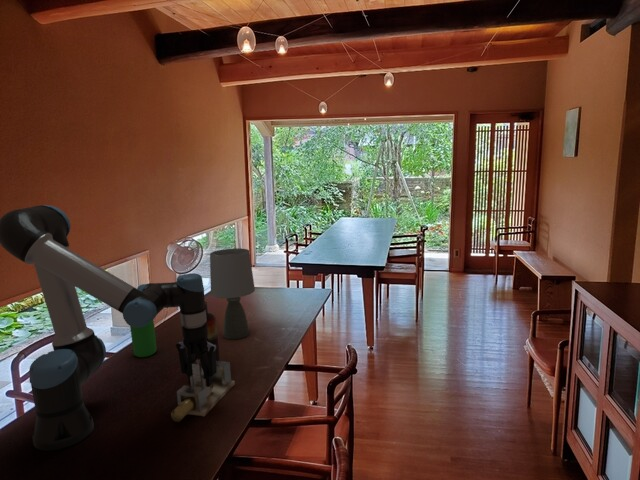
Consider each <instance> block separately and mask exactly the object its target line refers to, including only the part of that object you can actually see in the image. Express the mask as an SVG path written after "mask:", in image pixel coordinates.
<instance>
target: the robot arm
mask: <svg viewBox="0 0 640 480" xmlns="http://www.w3.org/2000/svg"><path fill="white" fill-rule="evenodd" d="M70 232H71V221H70V218H69V217H68V215H67V214H66V213H65V212H64V211H63V210H62V209H60V208H58V207H57V206H54V205H48V204H47V205H46V204H41V205H40V204H39V205H35V206H30V207H24V208H18V209H13V210H10V211H8V212H6V213H5V214H3V215H2V216H1V217H0V245H1V247H2V248H3V249H4V250H5V251H6V252H8V253H9V255H11V256H13V257H15V258H16V259H18V260H20V261H21V262H23V263H25V264H27V265H32V264H33V265H34V268H35V273H36V276H37V279H38V283H39V286H40V289H41V292H42V295H43V298H44V302H45V305H46V309H47V312H48V316H49V319H50V321H51V326H52V329H53V332H54V335H55V338H54V339H53V340H52V343H51V345H52V349H53V350H51V351H48V352H47V353H43V354H41V355H40V356H38V357H36V358H35V359H34V360H33V361H32V363H31V365H30V366H29V368H28V369H29V370H28V371H29V383H30V386H31V391H32V398H33V403H34V404H33V405H34V409H35V415H36V418H35V425H34V430H33V432H32V443H33V446H34V448H35V449H37V450H40V451H44V452H46V451H47V452H49V451H50V452H51V451H57V450H62V449H66V448H69V447H71V446H74V445H76V444H78V443H80V442H81V441H83V440H85V439H86V438H87V437H88V436H89V435H91V434H92V432H93V431H94V427H95V425H94V420H93V419H94V418H93V416H92V415H91V413H90V411H89V410H88V408H87V407H86V405H85V403H84V398H83V390H82V385H84V383H86V381H87V380H88V379H90V377H91V376H92V375H93V374H95V373H96V372H98V370H99V369H100V368H101V366H102V364H103V363H104V362H105V359H106V354H107V349H106V345H105V343H104V341H103V339H101V338H100V337H98V336H97V335H96V334H95V330H94V329H92V328H90V327H88V326H87V323H86V320H85V316H84V313H83V309H82V305H81V303H80V299H79V295H78V291H77V288H78V289H79V290H81V291H82V292H84V293H86V294H87V295H90V296H91V297H93V298H95V299H96V300H98V301H100V302H102V303H104V304H105V305H107V306H109V307H110V308H112V309H114V310H116V311H118V312H119V313H120V314H122V318H123V320H124V321H125V324H127V325H128V326H132V327H136V328H140V327H143V326H146V325H147V324H148V323H150V322H151V321H152V320H155V319H156V317H157V316H158V314H159V313H161V311H162V310H164V308H165V309H166V308H167V309H168V308H179V312H180V313H179V314H180V324H181V333H182V338H183V340H181V341H179V342H177V343H176V344H175V347H176V349H177V351H178V358H179V364H180V370H181V373H182V374H186V375H187V380H188V386H194V380H193V371H192V363H193V362H195V356H196V354H197V355H198V357H199V358H200V362H201V366H202V370H203V373H204V377H203V378H202V381H203V388H205V390H206V397H208V396H209V395H210V394H211V392H210V386H211V384H212V381H211V377H212V376H213V375H214V374H215V373H216V372H217V368H216V349H217V344H214V345H213V344H211V343H209V340H208V337H207V336H208V329H207V323H206V321H207V319H206V309H205V301H206V300H205V287H204V283H203V282H204V281H203V277H202V275H201V274H199V273H195V272H194V273H184V274H179V276H177V278H176V281H175V282H150V283H144V284H143V283H141V284H139V285H138V287H137V288H136V287H135V286H133V285H131V284H130V283H128V282H126V281H124V280H123V279H120V277H117V276H116V275H114V274H113V273H110V272H109V271H107V270H106V269H103V268H102V267H100V266H99V265H97V264H96V263H93V262H92V261H90V260H88V259H87V258H85V257H84V256H81V255H80V254H78V253H76V252H75V251H74V250H71V249H70V243H69V241H68V237H69V234H70ZM207 347H208V351H209V354H208V357H209V361H208V357H207V349H206V348H207ZM187 349H188V352H187ZM187 356H188V357H187Z"/></svg>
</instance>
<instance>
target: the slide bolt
mask: <svg viewBox="0 0 640 480" xmlns="http://www.w3.org/2000/svg"><path fill="white" fill-rule="evenodd" d="M192 371H193V380H194V387H203V381H202V378H203V377H204V373H203V370H202V366H201V362H200V360H196V361H195V362H193V363H192ZM212 389H213V384H211V386H210V391H211V390H212ZM195 406H196V402H195V397H191V396H188V397H187V398H186V399H185V400H184V401H183V402H182V403H181V404H180V405H178V404H177V406H176V407H175V408H174V409H173V410H172V411H171V412H170V418H171V419H172V420H173V421H174V422H178V423H179V422H181V421H182V420H183V419H184V418H185V416H187V415H189V414H188V413H189V412H190V411H191V410H192V409H193V408H194V407H195Z"/></svg>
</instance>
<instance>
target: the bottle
mask: <svg viewBox="0 0 640 480" xmlns="http://www.w3.org/2000/svg"><path fill="white" fill-rule="evenodd" d="M154 320H155V319H154ZM154 320H152V321H151V322H150V323H148V324H147V325H146V326H143V327H140V328H136V327H132V326H130V325H129V326H130V334H131V335H130V337H131V343H132V350H133V356H135V357H136V358H148V357H150V356H153V355H155V353H156V352H157V350H158V348H157V347H158V346H157V341H156V339H157V337H156V332H155V331H156V330H155V321H154Z"/></svg>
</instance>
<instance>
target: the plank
mask: <svg viewBox="0 0 640 480" xmlns="http://www.w3.org/2000/svg"><path fill="white" fill-rule="evenodd" d="M212 384H213V389H212V390H211V391H210V392H211V394H210V395H209V396H208V397H206V401H207V406H206V407H205V408H204V409H203V410H202V411H201V412H196V406H195V407H194V408H193V409H192V410H191V411H190V412H189V413H188V414H187V415H191V416H199V417H205V416H206V415H207V414H209V412H210V411H211V410H212V409H213V408H214V407H215V406H216V405H217V404H218V403H219V402H220V400H222V398H223V397H224V396H225V395H226V394H227V393H229V391H230V390H231V389H232V388H233V387H234V386H235V385H236V382H235V380H231V381H230V382H229V383H228V384H227V385H226V386H222V381H212Z"/></svg>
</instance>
